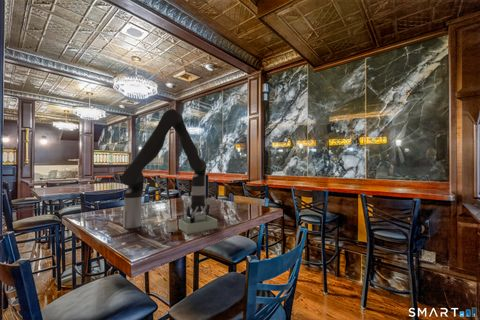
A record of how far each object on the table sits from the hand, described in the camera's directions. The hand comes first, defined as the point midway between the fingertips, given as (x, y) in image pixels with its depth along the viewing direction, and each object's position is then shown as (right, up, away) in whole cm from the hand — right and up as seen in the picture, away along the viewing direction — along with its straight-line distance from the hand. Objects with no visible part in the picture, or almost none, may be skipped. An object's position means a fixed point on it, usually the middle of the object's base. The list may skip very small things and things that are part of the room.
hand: (197, 223), depth 124 cm
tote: (0, -3, 0) cm, 3 cm away
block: (0, -1, 0) cm, 1 cm away
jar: (-13, -3, -6) cm, 15 cm away
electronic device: (-3, -4, +33) cm, 33 cm away
